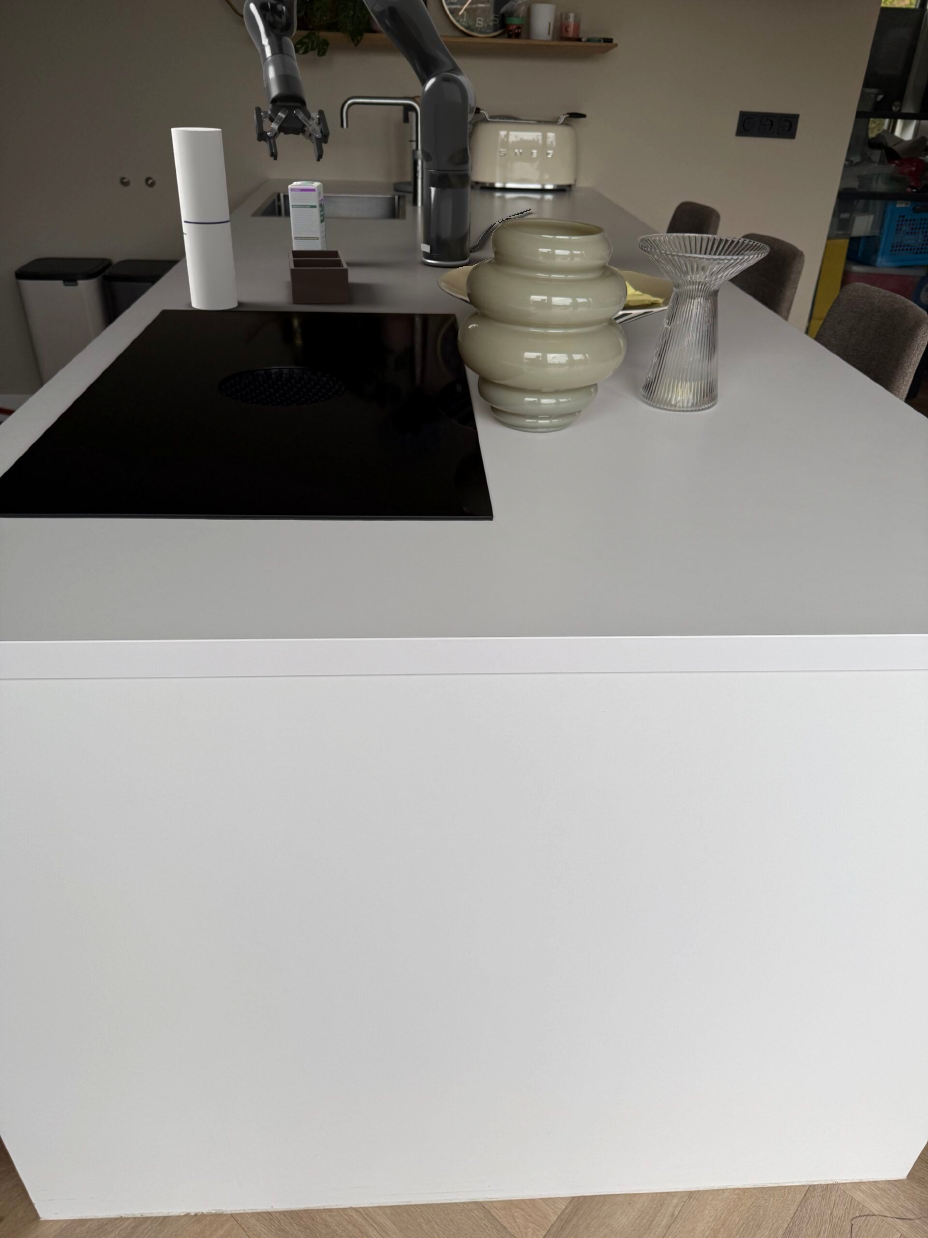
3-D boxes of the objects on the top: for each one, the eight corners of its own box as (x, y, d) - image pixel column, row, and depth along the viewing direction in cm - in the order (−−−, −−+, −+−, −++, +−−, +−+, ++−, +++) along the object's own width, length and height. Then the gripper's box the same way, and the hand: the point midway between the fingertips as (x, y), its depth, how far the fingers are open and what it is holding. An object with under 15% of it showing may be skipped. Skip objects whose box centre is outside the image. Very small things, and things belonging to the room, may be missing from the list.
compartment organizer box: (290, 282, 165) (288, 249, 162) (341, 281, 166) (340, 249, 163) (292, 303, 150) (290, 268, 147) (349, 303, 151) (347, 267, 148)
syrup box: (323, 266, 179) (319, 184, 171) (293, 265, 179) (287, 183, 171) (327, 261, 184) (323, 181, 176) (298, 260, 184) (293, 180, 176)
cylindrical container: (211, 311, 143) (192, 130, 130) (182, 304, 146) (160, 127, 134) (247, 304, 148) (231, 129, 135) (217, 298, 151) (200, 126, 139)
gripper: (249, 70, 177) (262, 143, 174) (321, 74, 181) (336, 145, 178) (246, 99, 184) (259, 170, 181) (316, 102, 188) (330, 171, 185)
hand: (297, 157), depth 180 cm, fingers open, 8 cm apart
